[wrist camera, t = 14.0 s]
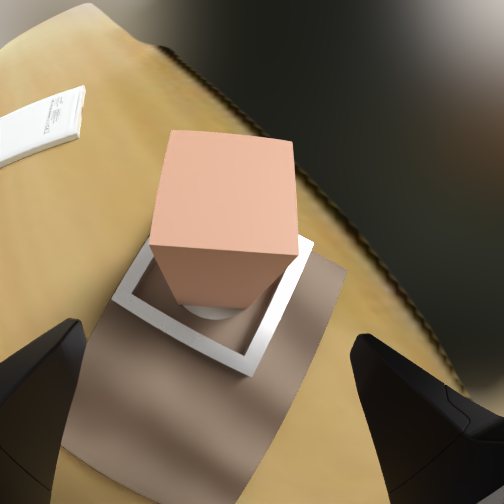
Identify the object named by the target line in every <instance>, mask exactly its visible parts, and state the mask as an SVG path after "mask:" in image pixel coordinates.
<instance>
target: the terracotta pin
mask: <svg viewBox="0 0 504 504" xmlns="http://www.w3.org/2000/svg"><path fill="white" fill-rule="evenodd" d="M149 246H150V249H151V251H152V253H153V255H154V257H155V259H156V261H157V263H158V265H159V267H160V269H161V271H162V273H163V275H164V277H165V279H166V281H167V283H168V285H169V287H170V289H171V291H172V293H173V295H174V297H175V299H176V301H177V303H178V305H188V306H203V307H219V308H238V309H247V308H248V307H249V306H250V305H251V304H252V303H253V302H254V301H255V300H256V299H257V298H258V297H259V296H260V295H261V294H262V293H263V292H264V291H265V290H266V289H267V288H268V287H269V286H270V285H271V284H272V283H273V282H274V281H275V280H276V279H277V278H278V277H279V276H280V275H281V274H282V273H283V272H284V271H285V270H286V269H287V268H288V267H289V265H290V264H291V263H292V262H293V261H294V260H295V259H296V258H297V257H298V256H299V239H298V218H297V200H296V184H295V170H294V157H293V145H292V142H290V141H284V140H277V139H271V138H263V137H255V136H246V135H237V134H227V133H216V132H202V131H185V130H171V134H170V138H169V142H168V146H167V150H166V155H165V159H164V164H163V168H162V173H161V177H160V182H159V187H158V192H157V198H156V203H155V208H154V214H153V220H152V226H151V232H150V239H149Z"/></svg>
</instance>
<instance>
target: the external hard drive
mask: <svg viewBox="0 0 504 504" xmlns="http://www.w3.org/2000/svg"><path fill="white" fill-rule="evenodd" d="M85 92H86V90H85V86H84V85H83V86H80V87H76V88H74V89H70V90H67V91H64V92H61V93H58V94H56V95H53V96H50V97H47V98H45V99H42V100H39V101H37V102H35V103H32V104H30V105H27V106H25V107H23V108H20V109H18V110H16V111H14V112H11V113H9V114H7V115H5V116H3V117H1V118H0V168H2V167H4V166H6V165H8V164H11V163H13V162H15V161H18V160H20V159H23V158H25V157H28V156H30V155H33V154H35V153H38V152H41V151H43V150H46V149H49V148H52V147H54V146H57V145H60V144H63V143H66V142H69V141H73V140H76V139H79V135H80V126H81V118H82V116H81V110H82V108H83V104H84V98H85Z"/></svg>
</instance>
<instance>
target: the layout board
mask: <svg viewBox="0 0 504 504" xmlns="http://www.w3.org/2000/svg"><path fill="white" fill-rule="evenodd" d="M149 239H150V235H149V237H148V238H147V240H146V242H145V243H144V245H143V246H142V248H141V249H140V251H139V252H138V254H137V256H136V257H135V259H134V260H133V262H132V264H131V265H130V267H129V269H128V270H127V272H126V273H125V275H124V277H123V278H122V280H121V282H120V284H119V285H118V287H117V289H116V290H115V292H114V294H113V296H112V297H111V299H110V301H109V303H108V304H107V306H106V308H105V310H104V312H103V313H102V315H101V317H100V319H99V321H98V323H97V324H96V326H95V328H94V330H93V332H92V334H91V336H90V338H89V340H88V342H87V344H86V348H85V352H84V356H83V360H82V365H81V370H80V374H79V379H78V384H77V387H76V391H75V394H74V397H73V401H72V404H71V407H70V411H69V414H68V418H67V422H66V426H65V429H64V433H63V437H62V441H61V446H63V447H64V448H65V449H67V450H68V451H69V452H71V453H72V454H74V455H75V456H76V457H78V458H79V459H81V460H82V461H84V462H85V463H87V464H88V465H90V466H91V467H93V468H94V469H96V470H97V471H99V472H101V473H102V474H104V475H106V476H107V477H109V478H111V479H112V480H114V481H116V482H118V483H119V484H121V485H123V486H125V487H127V488H129V489H130V490H132V491H134V492H136V493H138V494H140V495H142V496H144V497H146V498H148V499H151V500H153V501H155V502H157V503H159V504H235V503H236V501H237V500H238V498H239V496H240V495H241V493H242V492H243V490H244V489H245V487H246V485H247V484H248V482H249V481H250V479H251V477H252V476H253V474H254V472H255V471H256V469H257V467H258V465H259V464H260V462H261V460H262V459H263V457H264V455H265V453H266V452H267V450H268V448H269V446H270V444H271V443H272V441H273V439H274V437H275V435H276V433H277V431H278V430H279V428H280V426H281V424H282V422H283V420H284V418H285V416H286V414H287V412H288V410H289V408H290V406H291V404H292V402H293V400H294V398H295V396H296V394H297V392H298V390H299V388H300V386H301V384H302V381H303V379H304V377H305V375H306V373H307V371H308V368H309V366H310V364H311V362H312V360H313V357H314V355H315V353H316V350H317V348H318V346H319V343H320V341H321V339H322V336H323V334H324V331H325V329H326V327H327V324H328V322H329V319H330V317H331V314H332V312H333V309H334V306H335V304H336V301H337V299H338V296H339V293H340V291H341V288H342V285H343V282H344V280H345V277H346V274H347V271H348V270H346V269H344V268H343V267H341V266H339V265H337V264H335V263H334V262H332V261H330V260H328V259H326V258H324V257H322V256H321V255H319V254H317V253H315V252H313V251H311V249H312V246H313V244H314V243H313V242H311V241H309V240H307V239H306V238H304V237H302V236H300V235H298V239H299V256H298V257H297V258H296V259H295V260H294V261H293V262H292V263H291V264H290V265H289V267H288V268H287V269H286V270H285V271H284V272H283V273H282V274H281V275H280V276H279V277H278V278H277V279H276V280H275V281H274V282H273V283H272V284H271V285H270V286H269V287H268V288H267V289H266V290H265V291H264V292H263V293H262V294H261V295H260V296H259V297H258V298H257V299H256V300H255V301H254V302H253V303H252V304H251V305H250V306H249V307H248V308H247V309H238V308H219V307H203V306H188V305H178V303H177V301H176V299H175V297H174V295H173V293H172V291H171V289H170V287H169V285H168V283H167V281H166V279H165V277H164V275H163V273H162V271H161V269H160V267H159V265H158V263H157V261H156V259H155V257H154V255H153V253H152V251H151V249H150V246H149Z"/></svg>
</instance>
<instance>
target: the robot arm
mask: <svg viewBox="0 0 504 504" xmlns="http://www.w3.org/2000/svg"><path fill="white" fill-rule="evenodd" d="M85 348H86V338H85V334H84V330H83V326H82V323H81V321H80V320H79V319H74V318H68V319H66V320H64V321H63V322H61V323H60V324H58V325H57V326H55V327H54V328H52V329H50V330H49V331H47V332H46V333H44V334H43V335H41V336H40V337H38V338H37V339H35V340H34V341H32V342H31V343H29V344H28V345H26V346H25V347H23V348H22V349H20V350H19V351H17V352H16V353H14V354H13V355H11V356H10V357H8V358H7V359H5V360H4V361H2V362H1V363H0V504H50V499H51V491H52V486H53V480H54V474H55V469H56V464H57V459H58V454H59V450H60V446H61V441H62V437H63V433H64V429H65V426H66V422H67V418H68V414H69V411H70V407H71V404H72V401H73V397H74V394H75V391H76V387H77V384H78V379H79V374H80V370H81V365H82V360H83V356H84V352H85ZM350 360H351V364H352V369H353V373H354V378H355V382H356V387H357V391H358V395H359V399H360V402H361V405H362V408H363V411H364V414H365V417H366V420H367V423H368V426H369V430H370V433H371V436H372V439H373V443H374V446H375V449H376V453H377V456H378V459H379V463H380V466H381V470H382V473H383V477H384V480H385V484H386V488H387V491H388V496H389V500H390V503H391V504H504V417H501V416H498V415H496V414H494V413H493V412H491V411H489V410H487V409H485V408H484V407H482V406H480V405H478V404H476V403H474V402H473V401H471V400H469V399H468V398H466V397H464V396H462V395H461V394H459V393H458V392H456V391H455V390H453V389H452V388H450V387H449V386H447V385H444V383H443V382H441V381H440V380H438V379H437V378H435V377H434V376H432V375H431V374H429V373H428V372H426V371H425V370H423V369H422V368H420V367H419V366H417V365H416V364H414V363H413V362H411V361H410V360H408V359H407V358H405V357H404V356H402V355H401V354H400V353H398V352H397V351H395V350H394V349H392V348H391V347H389V346H388V345H386V344H385V343H383V342H382V341H380V340H379V339H377V338H376V337H374V336H373V335H371V334H368V333H367V334H359V335H358V336H357V338H356V340H355V342H354V345H353V347H352V349H351V352H350Z"/></svg>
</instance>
